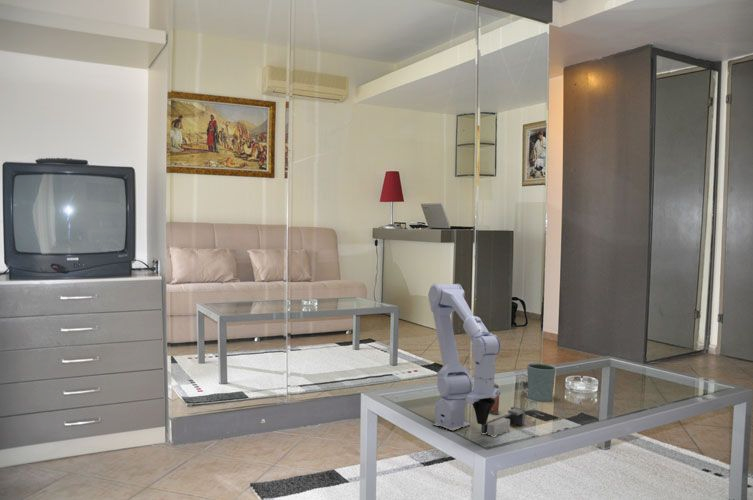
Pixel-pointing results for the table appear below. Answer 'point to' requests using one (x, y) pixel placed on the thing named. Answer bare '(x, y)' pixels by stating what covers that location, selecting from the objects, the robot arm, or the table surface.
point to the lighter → (495, 404)
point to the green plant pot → (540, 382)
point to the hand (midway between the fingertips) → (481, 423)
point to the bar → (498, 426)
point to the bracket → (515, 417)
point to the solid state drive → (540, 415)
